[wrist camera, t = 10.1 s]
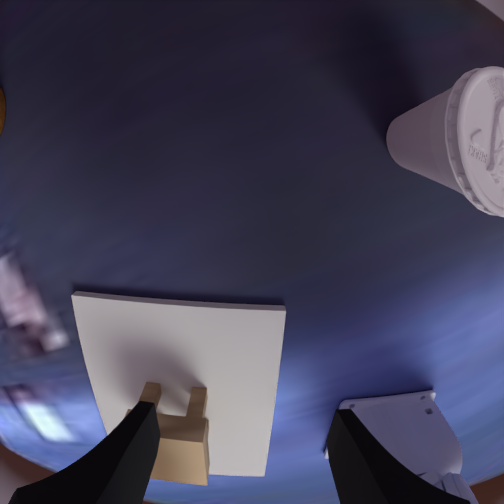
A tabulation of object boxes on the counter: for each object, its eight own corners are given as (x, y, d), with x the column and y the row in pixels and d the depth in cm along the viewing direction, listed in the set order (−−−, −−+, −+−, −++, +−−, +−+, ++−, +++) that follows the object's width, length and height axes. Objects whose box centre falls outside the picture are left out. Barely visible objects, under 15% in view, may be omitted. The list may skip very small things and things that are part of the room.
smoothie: (462, 141, 18) (629, 157, 5) (415, 209, 19) (582, 288, 6) (401, 75, 17) (565, 13, 3) (347, 144, 18) (517, 138, 5)
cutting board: (284, 305, 21) (286, 310, 21) (264, 470, 27) (264, 476, 26) (76, 290, 21) (71, 295, 20) (119, 454, 26) (117, 459, 26)
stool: (211, 384, 22) (203, 442, 17) (213, 431, 24) (207, 485, 18) (141, 377, 22) (118, 430, 17) (150, 424, 24) (134, 475, 18)
